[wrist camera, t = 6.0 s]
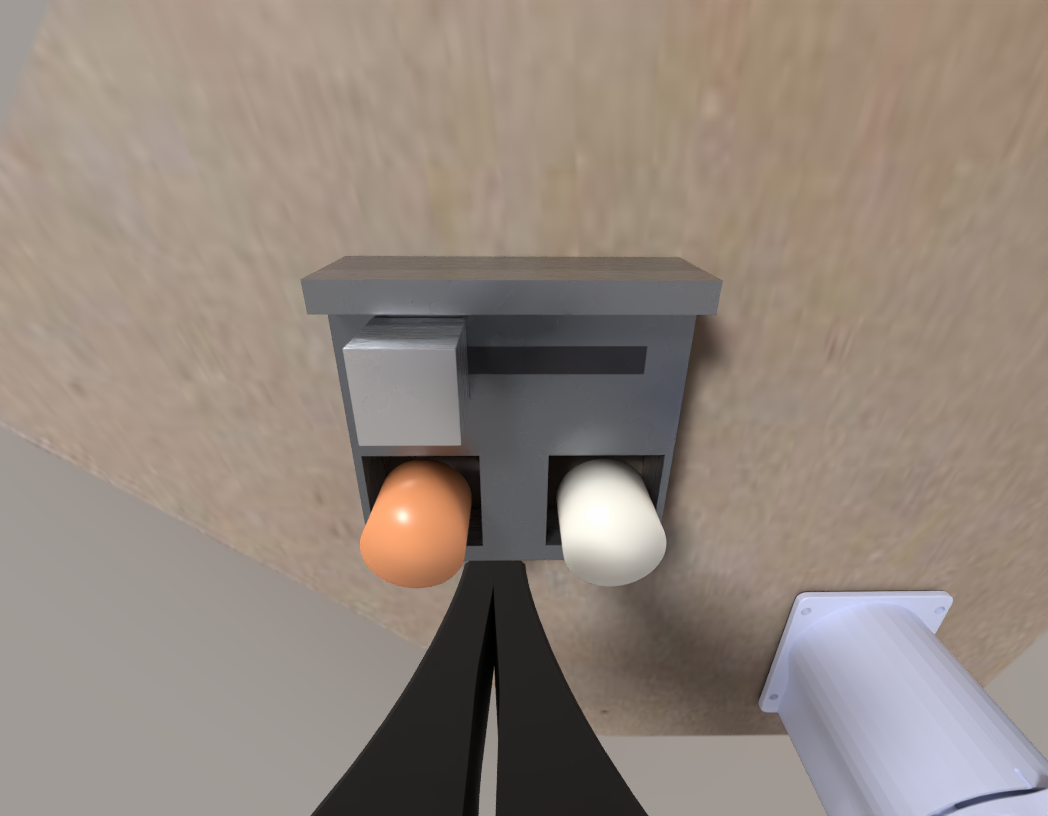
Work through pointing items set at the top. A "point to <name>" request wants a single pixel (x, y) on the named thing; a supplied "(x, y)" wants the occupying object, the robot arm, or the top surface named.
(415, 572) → the orange button
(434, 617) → the top surface
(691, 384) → the top surface
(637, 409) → the panel
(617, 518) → the ivory button
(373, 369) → the slider knob
